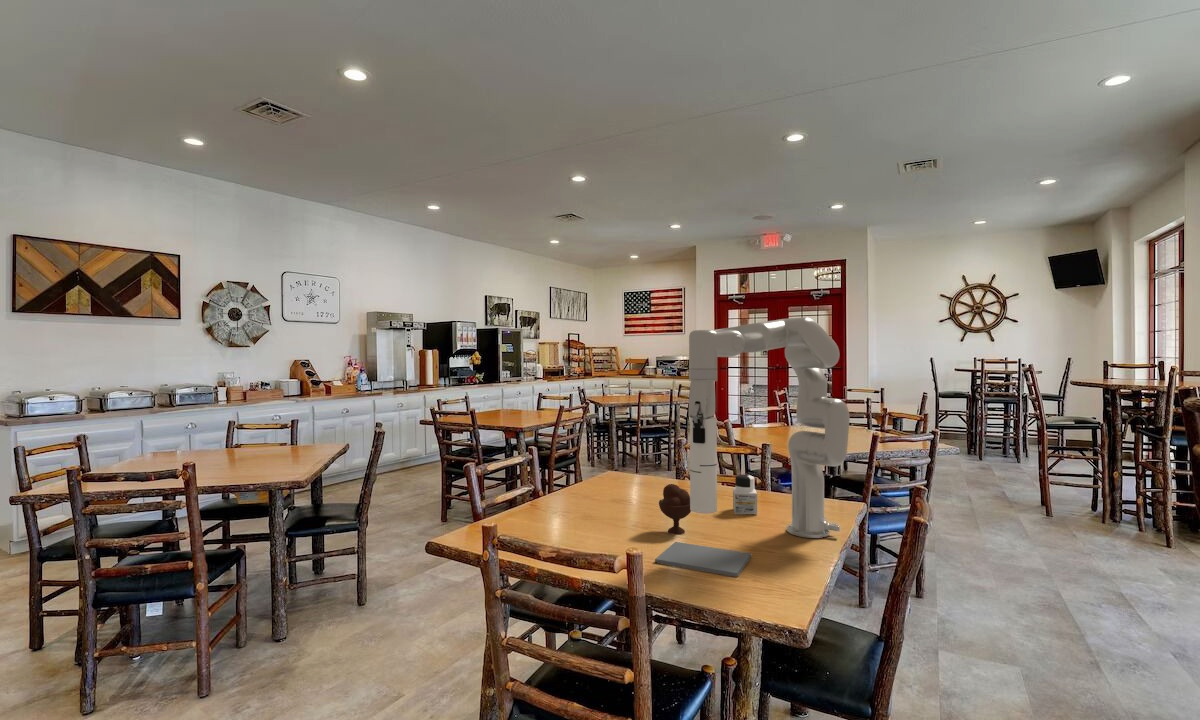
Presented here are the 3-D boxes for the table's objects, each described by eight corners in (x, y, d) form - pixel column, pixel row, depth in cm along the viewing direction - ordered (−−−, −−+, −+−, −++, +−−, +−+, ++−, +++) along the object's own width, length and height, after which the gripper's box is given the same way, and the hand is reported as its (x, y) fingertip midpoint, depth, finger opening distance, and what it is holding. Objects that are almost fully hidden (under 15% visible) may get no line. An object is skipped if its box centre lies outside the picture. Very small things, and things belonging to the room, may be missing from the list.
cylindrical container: (717, 514, 148) (716, 419, 148) (689, 512, 150) (689, 418, 150) (716, 507, 155) (716, 416, 155) (690, 505, 157) (690, 416, 157)
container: (734, 514, 197) (734, 477, 197) (733, 508, 205) (733, 472, 205) (757, 515, 196) (757, 478, 196) (755, 509, 203) (754, 473, 203)
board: (751, 557, 155) (751, 553, 155) (737, 577, 141) (737, 573, 141) (675, 545, 165) (675, 541, 165) (655, 562, 151) (655, 559, 151)
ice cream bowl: (670, 539, 170) (670, 489, 170) (652, 529, 180) (652, 482, 180) (700, 534, 174) (700, 486, 174) (681, 525, 185) (681, 479, 185)
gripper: (699, 374, 162) (699, 436, 162) (679, 376, 147) (679, 444, 147) (725, 374, 159) (725, 437, 159) (707, 376, 143) (707, 446, 143)
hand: (703, 440), depth 153 cm, fingers closed on cylindrical container, 7 cm apart
